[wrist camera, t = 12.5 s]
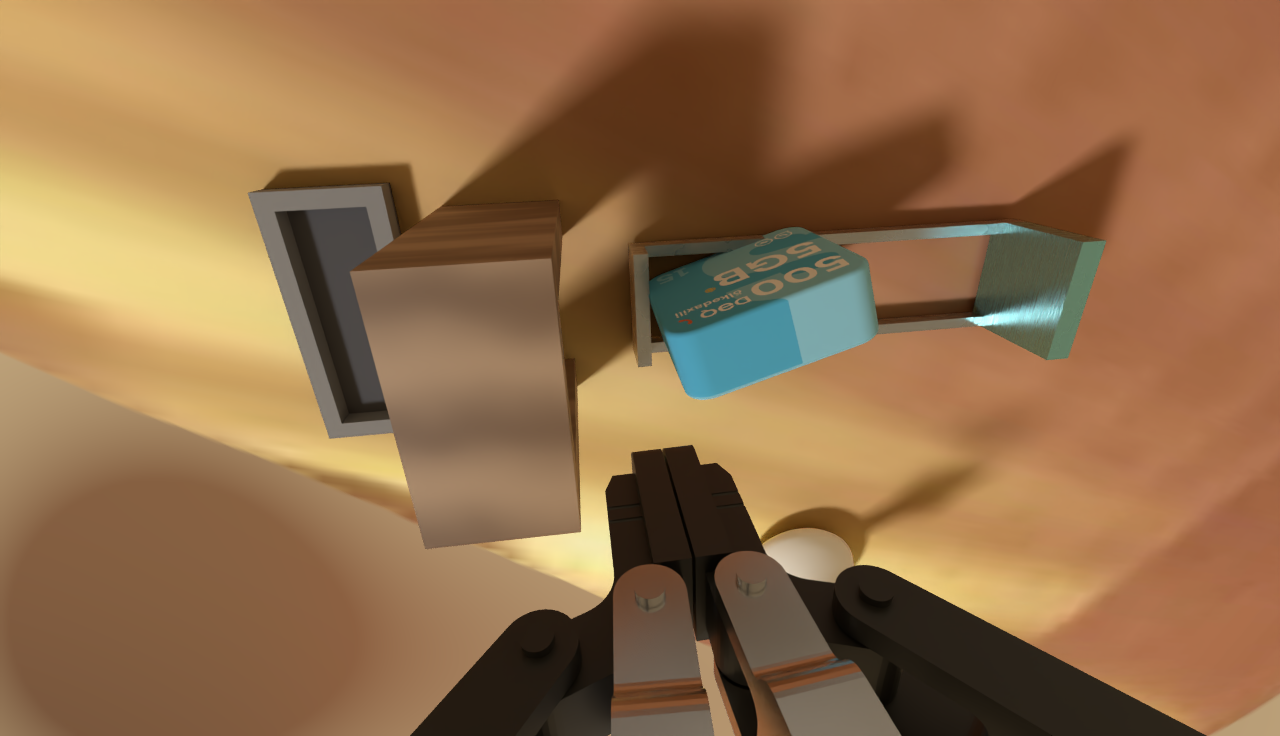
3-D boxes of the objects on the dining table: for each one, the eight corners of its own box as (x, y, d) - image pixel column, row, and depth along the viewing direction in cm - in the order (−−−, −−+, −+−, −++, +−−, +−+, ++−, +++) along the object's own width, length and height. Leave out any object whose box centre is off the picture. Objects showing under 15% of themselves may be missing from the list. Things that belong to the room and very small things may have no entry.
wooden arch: (440, 206, 37) (349, 271, 22) (558, 200, 38) (551, 258, 22) (476, 395, 43) (425, 549, 28) (577, 386, 44) (580, 531, 29)
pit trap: (262, 189, 35) (247, 192, 34) (389, 182, 36) (380, 185, 34) (338, 426, 43) (329, 438, 41) (442, 417, 44) (437, 428, 42)
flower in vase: (864, 527, 54) (1072, 819, 32) (817, 608, 59) (971, 916, 36) (746, 505, 51) (883, 811, 29) (705, 593, 56) (797, 918, 33)
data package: (795, 222, 40) (879, 262, 29) (807, 278, 42) (890, 335, 31) (641, 280, 40) (667, 341, 29) (660, 333, 42) (692, 408, 31)
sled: (628, 243, 39) (641, 272, 32) (1013, 218, 42) (1106, 240, 34) (633, 348, 43) (645, 395, 35) (988, 319, 45) (1067, 358, 38)
